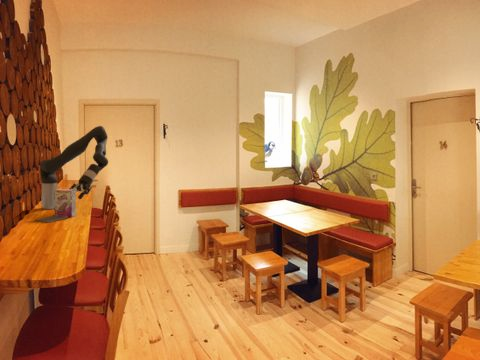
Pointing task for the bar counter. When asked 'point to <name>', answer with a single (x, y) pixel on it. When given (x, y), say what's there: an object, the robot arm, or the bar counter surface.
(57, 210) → the candy bar box
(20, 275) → the bar counter surface
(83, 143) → the robot arm
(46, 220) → the mat
